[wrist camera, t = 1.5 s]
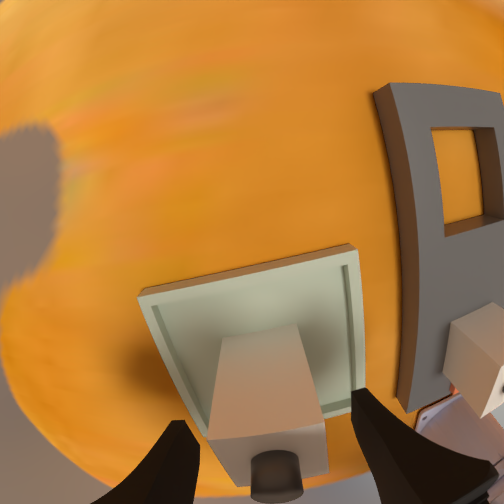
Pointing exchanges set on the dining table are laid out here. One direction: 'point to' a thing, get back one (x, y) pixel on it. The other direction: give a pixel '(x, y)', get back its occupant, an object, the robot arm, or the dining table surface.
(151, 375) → the dining table surface
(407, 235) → the power strip
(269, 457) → the plug
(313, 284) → the tray
